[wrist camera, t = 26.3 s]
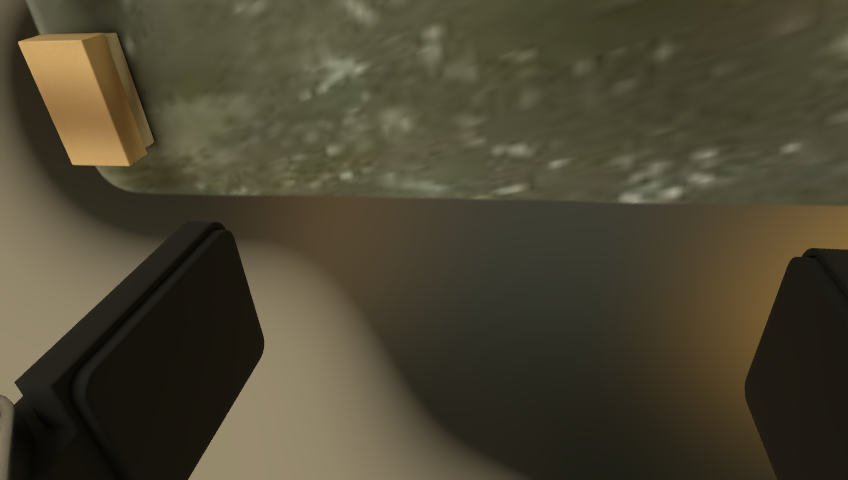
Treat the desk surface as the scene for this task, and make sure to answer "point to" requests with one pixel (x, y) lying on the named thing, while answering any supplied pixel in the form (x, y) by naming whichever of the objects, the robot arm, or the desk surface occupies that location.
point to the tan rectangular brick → (90, 96)
